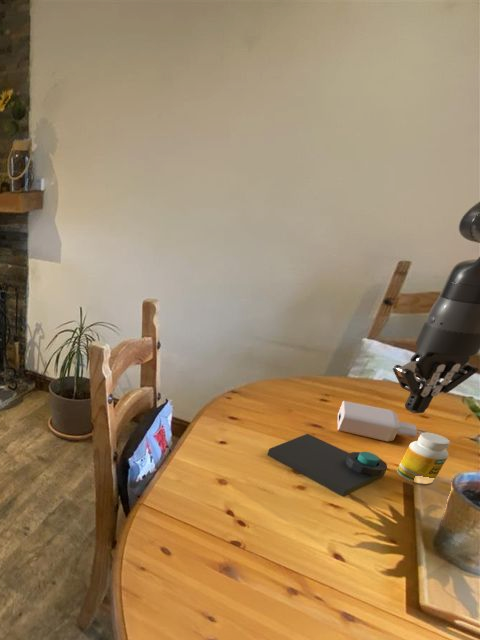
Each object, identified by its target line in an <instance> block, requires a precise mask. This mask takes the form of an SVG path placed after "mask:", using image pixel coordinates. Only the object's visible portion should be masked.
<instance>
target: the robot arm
mask: <svg viewBox="0 0 480 640" xmlns="http://www.w3.org/2000/svg"><path fill="white" fill-rule="evenodd" d="M458 232H459V234H460V235H461V237H462V238H464V239H465V240H468V241H470V242H473V243H478V244H480V201H478V202H476V203H475V204H474V205H472V207H470V208H469V209H468V210H467V211H466V212H465V213H464V215H463V216H462V217H461V219H460V221H459V224H458ZM417 336H418V337H417V338H416V341H415V346H416V347H417V350H416V352H415V353H414V354H413V355H412V356H411V358H410V361H409V362H407V363H405V364H403V365H400V364H396V365H394V366H393V367H392V371H393V373H394V375H395V377H396V380H397V381H398V383H399V385H400V387H401V389H403V390H406V391H407V392H409V395H408V397H407V400H406V401H405V404H404V407H405V410H407V411H409V413H410V412H411V413H412V414H424V413H425V411H426V410H427V409H428V408H429V406H430V403H431V402H432V400H433V398H434V397H436V396H438V395H439V394H440V393H443V394H448V393H449V392H451V391H452V390H453V389H455V388H456V387H458V386H459V385H461V384H463V383H464V382H465V381H467V379H469V378H471V377H472V376H473V375H475V374H477V372H479V368H478V367H476V366H473V365H471V364H470V362H469V361H470V357H473V356H475V355H477V354H478V353H479V352H480V256H479V257H477V258H476V259H466V260H462V261H459V262H457V263H456V264H455V265H454V266H453V268H452V269H451V271H450V272H449V274H448V276H447V278H446V281H445V283H444V284H443V287H442V289H441V291H440V293H439V295H438V298H437V299H436V301H434V303H433V304H432V307H431V309H430V310H429V313H428V315H427V317H426V319H425V321H424V323H423V325H422V327H421V330H420V332H419V334H418V335H417Z"/></svg>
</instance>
